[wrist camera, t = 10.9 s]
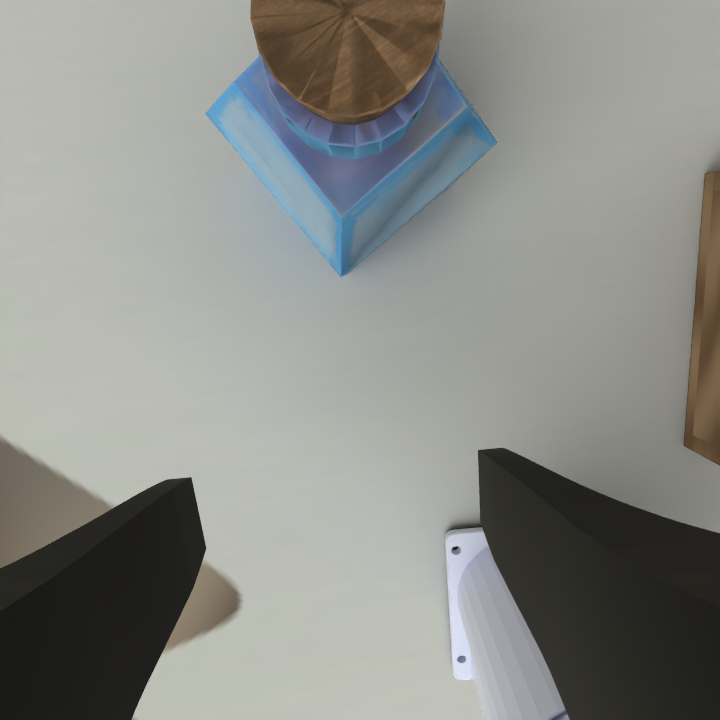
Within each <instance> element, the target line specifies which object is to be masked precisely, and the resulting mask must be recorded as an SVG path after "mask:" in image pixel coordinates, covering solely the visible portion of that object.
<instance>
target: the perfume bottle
mask: <svg viewBox="0 0 720 720" xmlns="http://www.w3.org/2000/svg"><path fill="white" fill-rule="evenodd" d="M444 8H445V0H251V22H252V26H253V30H254V34H255V38H256V42H257V46H258V50H259V57H258V58H257V59H256V60H255V61H254V62H253V63H252V64H251V65H250V66H249V67H248V68H247V69H246V70H245V71H244V72H243V73H242V74H241V75H240V76H239V77H238V78H237V79H236V80H235V81H234V82H233V83H232V84H231V85H230V87H229V88H228V89H227V90H226V91H225V92H224V93H223V94H222V95H221V96H220V98H219V99H218V100H217V101H216V102H215V103H214V104H213V105H212V106H211V108H210V109H209V110H208V111H207V112H206V113H205V114H206V115H207V116H208V117H209V119H210V120H211V121H212V122H213V123H214V125H215V126H216V127H217V128H218V129H219V131H220V132H221V133H222V134H223V136H224V137H225V138H226V139H227V140H228V142H229V143H230V144H231V145H232V146H233V148H234V149H235V150H236V151H237V152H238V154H239V155H240V156H241V157H242V158H243V160H244V161H245V162H246V163H247V164H248V166H249V167H250V168H251V169H252V170H253V172H254V173H255V174H256V175H257V177H258V178H259V179H260V180H261V181H262V183H263V184H264V185H265V186H266V187H267V189H268V190H269V191H270V192H271V193H272V195H273V196H274V197H275V198H276V199H277V201H278V202H279V203H280V204H281V205H282V207H283V208H284V209H285V210H286V212H287V213H288V214H289V215H290V216H291V218H292V219H293V220H294V221H295V222H296V224H297V225H298V226H299V227H300V228H301V230H302V231H303V232H304V233H305V234H306V236H307V237H308V238H309V239H310V240H311V242H312V243H313V244H314V245H315V246H316V248H317V249H318V250H319V251H320V253H321V254H322V255H323V256H324V257H325V259H326V260H327V261H328V262H329V263H330V265H331V266H332V267H333V268H334V269H335V271H336V272H337V273H338V274H339V275H340V277H342V276H344V275H346V274H347V273H348V272H349V271H351V270H352V269H353V268H354V267H355V266H356V265H358V264H359V263H360V262H361V261H362V260H363V259H365V258H366V257H367V256H368V255H369V254H370V253H372V252H373V251H374V250H375V249H376V248H377V247H379V246H380V245H381V244H382V243H383V242H384V241H386V240H387V239H388V238H389V237H390V236H391V235H393V234H394V233H395V232H396V231H397V230H398V229H400V228H401V227H402V226H403V225H404V224H405V223H407V222H408V221H409V220H410V219H411V218H412V217H414V216H415V215H416V214H417V213H418V212H419V211H421V210H422V209H423V208H424V207H425V206H426V205H428V204H429V203H430V202H431V201H432V200H433V199H435V198H436V197H437V196H438V195H439V194H440V193H442V192H443V191H444V190H445V189H446V188H447V187H449V186H450V185H451V184H452V183H453V182H454V181H455V180H456V179H458V178H459V177H460V176H461V175H462V174H463V173H464V172H465V171H466V170H468V169H469V168H470V167H471V166H472V165H473V164H474V163H475V162H476V161H478V160H479V159H480V158H481V157H482V156H483V155H484V154H485V153H486V152H487V151H489V150H490V149H491V148H492V147H493V146H494V145H495V144H496V143H497V141H496V140H495V139H494V137H493V136H492V134H491V133H490V131H489V130H488V128H487V127H486V126H485V124H484V123H483V121H482V120H481V118H480V117H479V116H478V114H477V113H476V111H475V110H474V108H473V107H472V106H471V104H470V103H469V101H468V100H467V98H466V97H465V96H464V94H463V93H462V91H461V90H460V88H459V87H458V86H457V84H456V83H455V81H454V80H453V78H452V77H451V76H450V74H449V73H448V71H447V70H446V68H445V67H444V66H443V64H442V63H441V61H440V60H439V58H438V51H439V42H440V39H441V34H442V26H443V17H444Z"/></svg>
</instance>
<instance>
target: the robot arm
mask: <svg viewBox="0 0 720 720" xmlns="http://www.w3.org/2000/svg"><path fill="white" fill-rule="evenodd" d="M478 462H479V493H480V523H481V526H482V527H479V528H468V529H456V530H451V531H449V532H447V534H446V535H445V552H446V569H447V586H448V603H449V620H450V637H451V655H452V669H453V674H454V677H455V678H456V679H459V680H472V679H473V682H474V685H475V689H476V693H477V696H478V700H479V704H480V707H481V711H482V714H483V718H484V720H720V533H716V532H712V531H709V530H705V529H701V528H698V527H694V526H691V525H687V524H684V523H681V522H677V521H674V520H671V519H668V518H665V517H662V516H659V515H656V514H653V513H650V512H647V511H645V510H642V509H639V508H636V507H633V506H630V505H628V504H625V503H622V502H620V501H617V500H615V499H612V498H610V497H608V496H605V495H603V494H600V493H598V492H596V491H593V490H591V489H589V488H586V487H584V486H582V485H580V484H578V483H575V482H573V481H571V480H569V479H567V478H565V477H563V476H561V475H559V474H557V473H555V472H552V471H550V470H548V469H546V468H544V467H542V466H540V465H538V464H536V463H535V462H533V461H531V460H529V459H527V458H525V457H522V456H520V455H518V454H516V453H514V452H512V451H510V450H507V449H504V448H497V449H486V450H478ZM455 546H458V547H459V548H458V549H456V550H452V548H453V547H455ZM205 551H206V545H205V540H204V536H203V531H202V526H201V521H200V517H199V512H198V507H197V502H196V497H195V493H194V488H193V483H192V478H191V477H190V478H180V479H169V480H165V481H163V482H160V483H158V484H156V485H154V486H152V487H150V488H148V489H146V490H145V491H143V492H141V493H139V494H137V495H136V496H134V497H132V498H130V499H129V500H127V501H125V502H123V503H122V504H120V505H118V506H116V507H115V508H113V509H111V510H109V511H108V512H106V513H104V514H103V515H101V516H99V517H97V518H96V519H94V520H92V521H90V522H89V523H87V524H85V525H83V526H81V527H80V528H78V529H76V530H74V531H72V532H70V533H69V534H67V535H65V536H63V537H61V538H59V539H58V540H56V541H54V542H52V543H51V544H48V545H47V546H45V547H43V548H41V549H39V550H37V551H35V552H33V553H31V554H29V555H27V556H25V557H23V558H21V559H19V560H17V561H15V562H13V563H11V564H9V565H7V566H5V567H3V568H0V720H131V719H132V717H133V714H134V712H135V709H136V707H137V705H138V702H139V700H140V698H141V696H142V693H143V691H144V689H145V687H146V684H147V682H148V680H149V678H150V676H151V674H152V672H153V670H154V668H155V666H156V664H157V662H158V660H159V658H160V656H161V654H162V652H163V650H164V648H165V646H166V643H167V641H168V639H169V637H170V635H171V633H172V631H173V629H174V627H175V625H176V623H177V621H178V619H179V617H180V615H181V612H182V611H183V608H184V606H185V604H186V602H187V600H188V598H189V596H190V594H191V591H192V589H193V587H194V584H195V581H196V578H197V576H198V572H199V570H200V567H201V563H202V560H203V557H204V554H205ZM461 655H462V656H461ZM459 656H461V657H459Z"/></svg>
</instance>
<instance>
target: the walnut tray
mask: <svg viewBox="0 0 720 720" xmlns="http://www.w3.org/2000/svg"><path fill="white" fill-rule="evenodd" d="M684 446H685V447H687V448H689V449H691V450H692V451H694V452H696V453H698V454H700V455H702V456H703V457H705V458H707V459H709V460H711V461H713V462H714V463H716V464H718V465H720V170H719V171H715V172H712V173H708V174H705V183H704V196H703V209H702V222H701V234H700V247H699V260H698V273H697V286H696V299H695V311H694V324H693V337H692V350H691V363H690V375H689V388H688V401H687V414H686V427H685V439H684Z"/></svg>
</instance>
